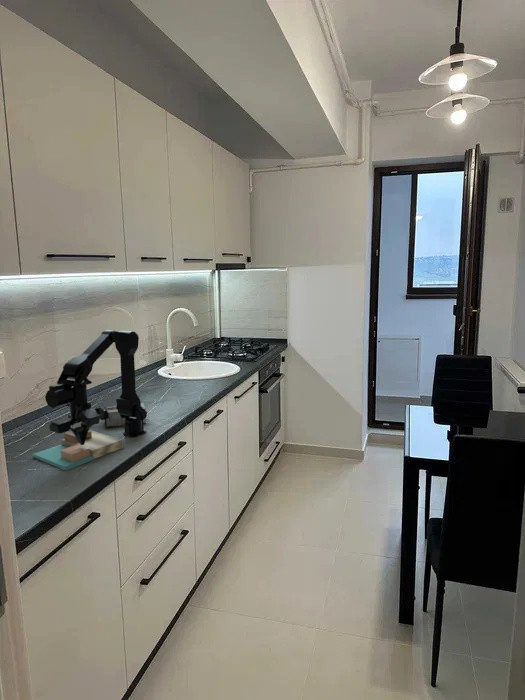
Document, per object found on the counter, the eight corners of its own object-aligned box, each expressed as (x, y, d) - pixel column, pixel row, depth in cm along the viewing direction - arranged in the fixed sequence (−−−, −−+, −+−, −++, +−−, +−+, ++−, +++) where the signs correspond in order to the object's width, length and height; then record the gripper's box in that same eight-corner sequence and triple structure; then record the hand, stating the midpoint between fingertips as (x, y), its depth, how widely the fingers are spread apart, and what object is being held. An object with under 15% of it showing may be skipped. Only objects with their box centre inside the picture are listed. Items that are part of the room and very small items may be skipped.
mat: (60, 447, 167) (60, 444, 167) (93, 459, 156) (92, 456, 156) (33, 457, 159) (33, 453, 159) (65, 470, 148) (65, 466, 148)
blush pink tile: (78, 451, 160) (78, 444, 160) (90, 455, 157) (89, 448, 156) (61, 457, 155) (60, 450, 155) (72, 461, 152) (71, 454, 151)
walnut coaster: (81, 434, 172) (80, 427, 171) (91, 437, 168) (91, 431, 168) (64, 439, 166) (64, 432, 166) (75, 443, 163) (74, 436, 162)
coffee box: (144, 416, 201) (104, 421, 196) (143, 402, 200) (103, 406, 194) (146, 423, 192) (104, 428, 187) (145, 408, 191) (103, 412, 186)
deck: (91, 437, 176) (91, 430, 176) (122, 447, 166) (122, 439, 166) (62, 447, 167) (61, 439, 166) (93, 459, 156) (92, 450, 156)
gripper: (66, 410, 142) (70, 459, 145) (117, 396, 157) (120, 441, 160) (46, 405, 149) (50, 451, 152) (97, 392, 164) (100, 434, 166)
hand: (82, 444), depth 157 cm, fingers closed
